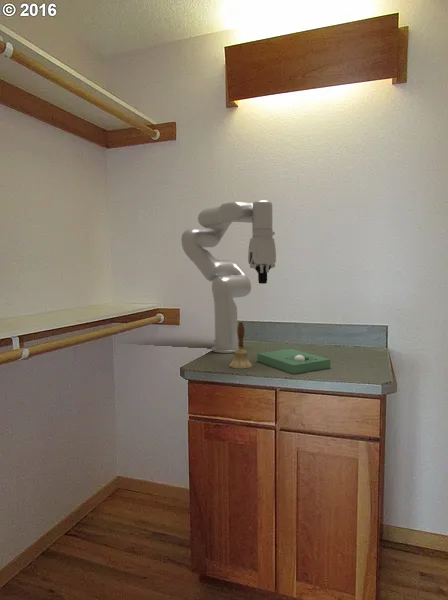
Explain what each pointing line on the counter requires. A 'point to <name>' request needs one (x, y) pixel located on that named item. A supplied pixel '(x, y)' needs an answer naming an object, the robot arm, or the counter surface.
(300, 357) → the ball
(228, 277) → the robot arm
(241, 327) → the hand bell
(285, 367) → the block
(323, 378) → the counter surface
